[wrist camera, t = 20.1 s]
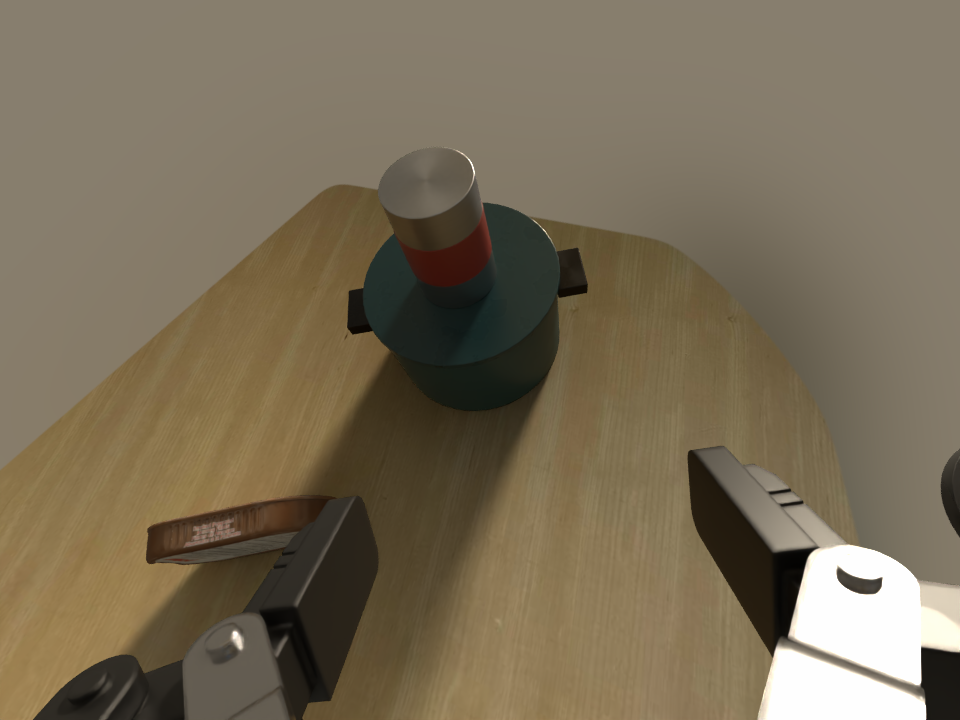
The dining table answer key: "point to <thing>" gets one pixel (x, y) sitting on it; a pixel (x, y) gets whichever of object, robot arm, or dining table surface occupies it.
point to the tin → (232, 530)
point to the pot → (474, 317)
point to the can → (440, 225)
